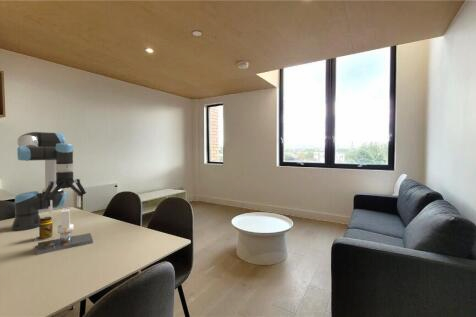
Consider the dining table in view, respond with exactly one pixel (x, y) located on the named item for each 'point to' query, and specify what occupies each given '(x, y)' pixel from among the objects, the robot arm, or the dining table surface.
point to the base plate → (60, 245)
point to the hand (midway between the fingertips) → (65, 209)
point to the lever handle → (65, 221)
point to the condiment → (45, 229)
